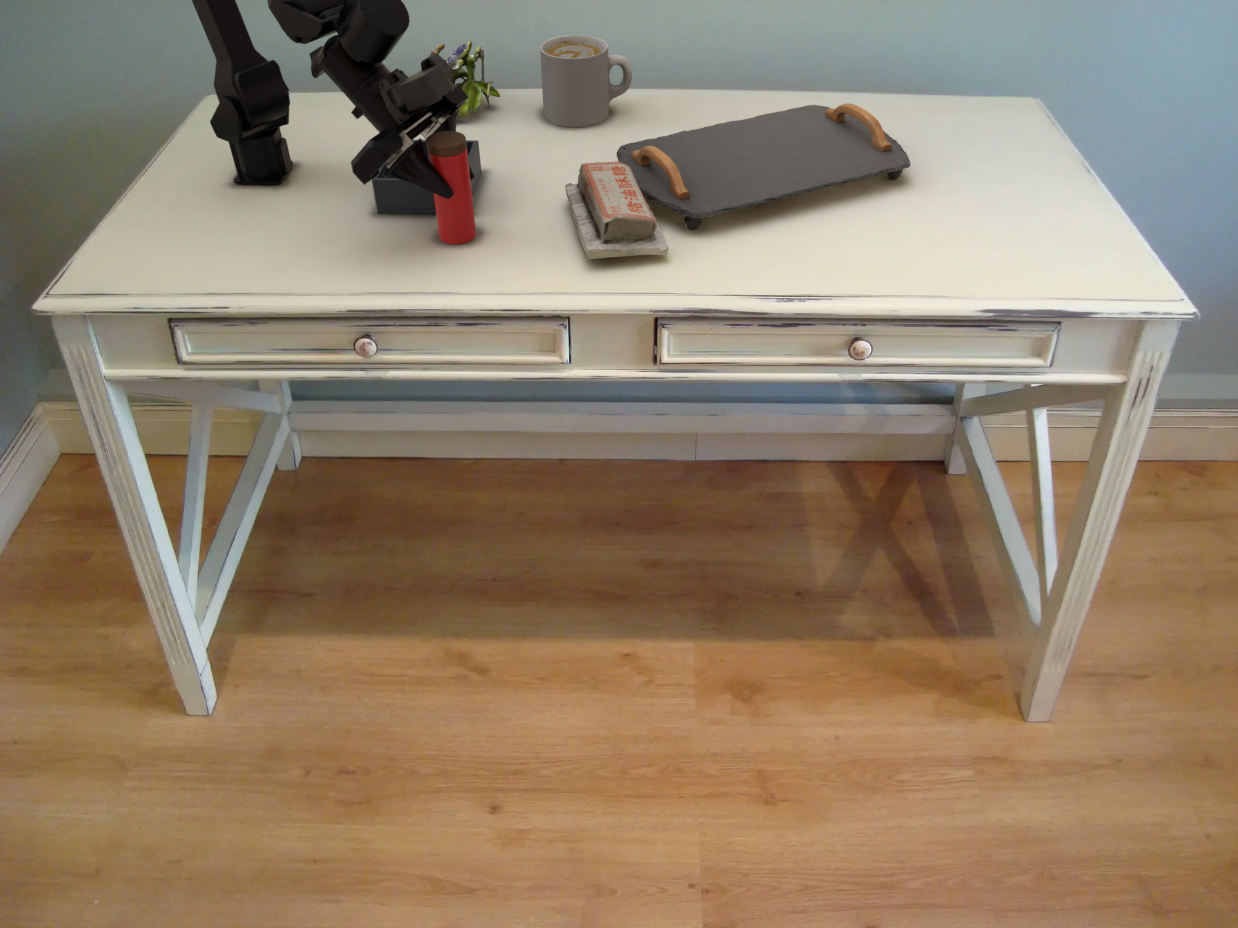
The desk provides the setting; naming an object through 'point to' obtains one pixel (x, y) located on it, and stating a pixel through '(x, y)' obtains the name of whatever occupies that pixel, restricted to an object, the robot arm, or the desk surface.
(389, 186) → the desk bin
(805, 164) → the serving tray
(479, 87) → the passion flower
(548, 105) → the coffee mug
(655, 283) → the desk surface
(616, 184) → the packaged product
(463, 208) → the candy tube
